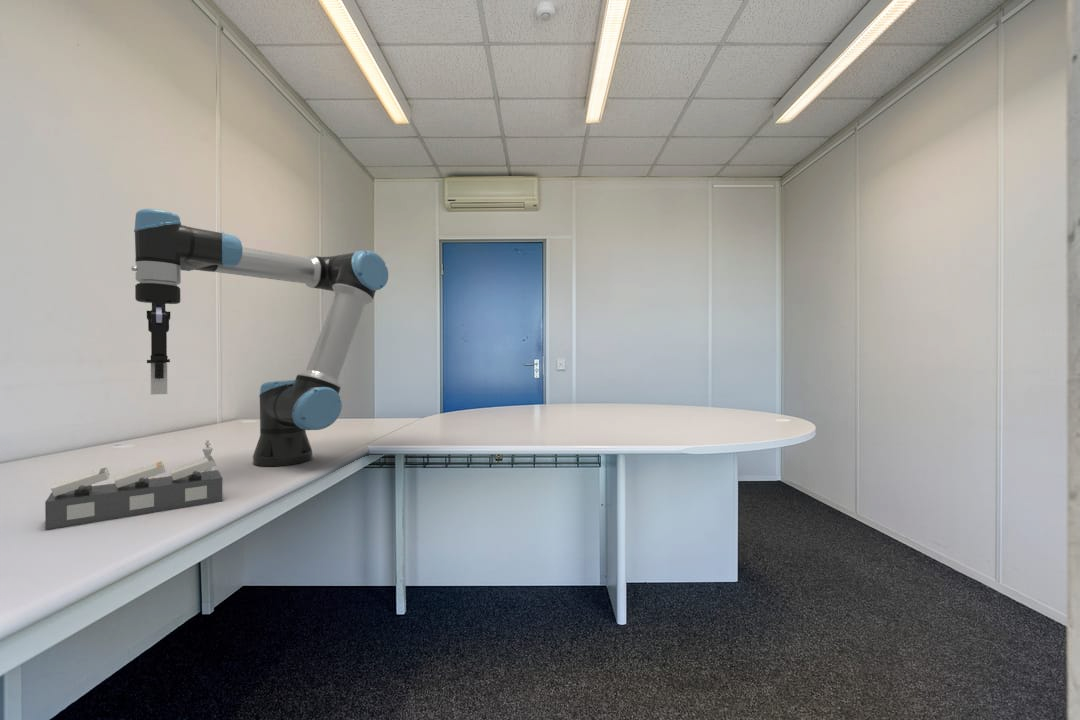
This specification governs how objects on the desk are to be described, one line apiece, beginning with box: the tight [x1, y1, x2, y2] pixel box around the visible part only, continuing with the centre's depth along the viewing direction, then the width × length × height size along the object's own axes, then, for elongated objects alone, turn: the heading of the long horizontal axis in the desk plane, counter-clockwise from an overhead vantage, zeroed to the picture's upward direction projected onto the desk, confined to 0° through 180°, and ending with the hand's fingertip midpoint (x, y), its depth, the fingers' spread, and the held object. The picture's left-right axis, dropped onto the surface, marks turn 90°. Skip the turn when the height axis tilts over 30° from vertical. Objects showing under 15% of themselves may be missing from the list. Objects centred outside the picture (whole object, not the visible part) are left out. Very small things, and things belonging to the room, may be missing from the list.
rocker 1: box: [50, 467, 111, 496], centre depth 89 cm, size 8×4×2 cm, turn 129°
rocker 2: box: [114, 461, 166, 488], centre depth 94 cm, size 8×4×2 cm, turn 129°
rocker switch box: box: [44, 469, 223, 531], centre depth 94 cm, size 26×8×6 cm, turn 130°
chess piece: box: [202, 439, 213, 472], centre depth 114 cm, size 5×5×10 cm
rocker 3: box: [169, 455, 217, 481], centre depth 100 cm, size 8×4×2 cm, turn 129°
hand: (159, 393), depth 101 cm, fingers open, 4 cm apart
